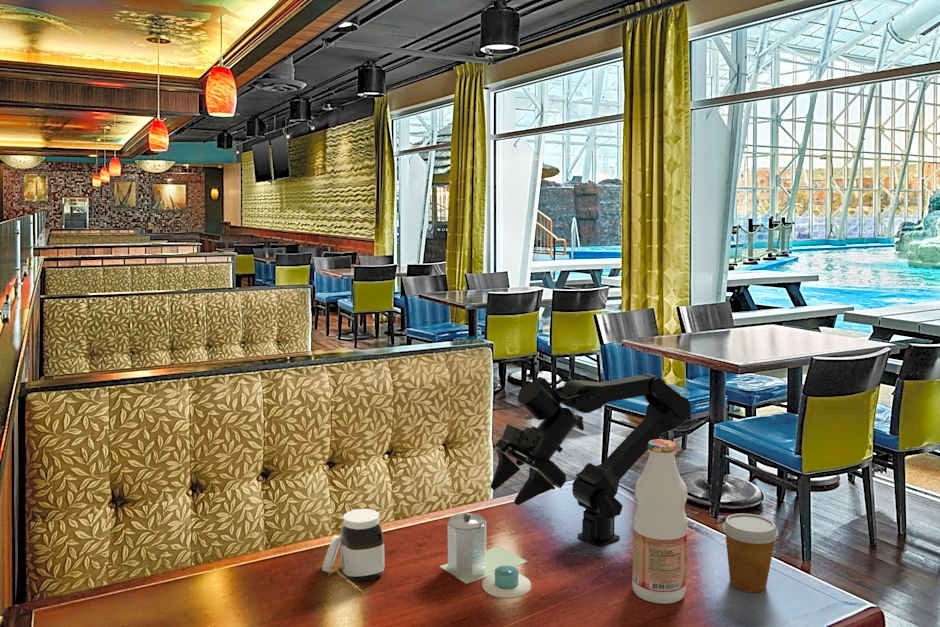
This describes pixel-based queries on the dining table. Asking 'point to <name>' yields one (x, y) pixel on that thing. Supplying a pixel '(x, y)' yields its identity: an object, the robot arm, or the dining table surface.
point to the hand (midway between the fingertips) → (503, 496)
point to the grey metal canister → (467, 545)
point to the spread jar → (358, 546)
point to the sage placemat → (494, 562)
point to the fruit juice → (660, 528)
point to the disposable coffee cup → (749, 550)
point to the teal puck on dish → (506, 583)
